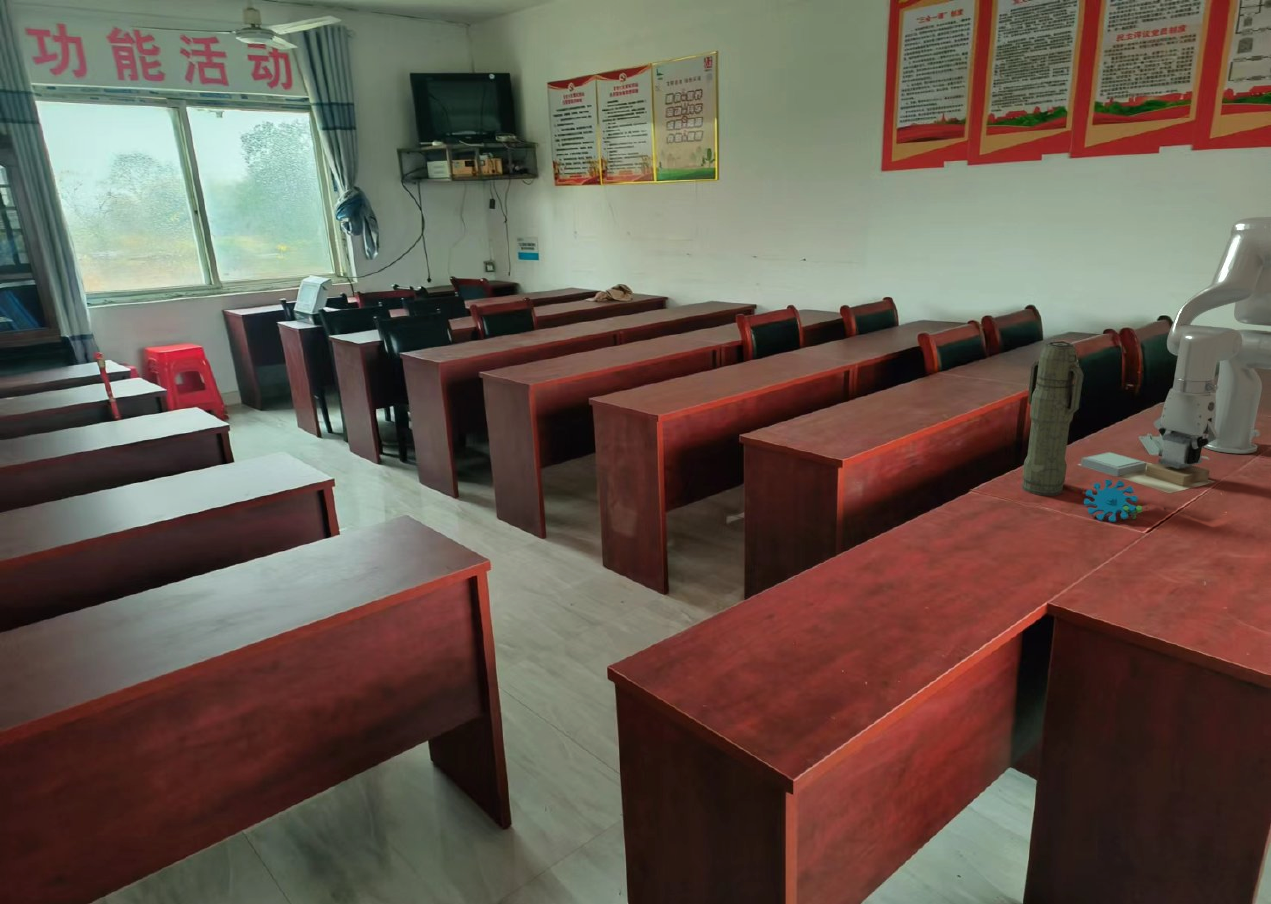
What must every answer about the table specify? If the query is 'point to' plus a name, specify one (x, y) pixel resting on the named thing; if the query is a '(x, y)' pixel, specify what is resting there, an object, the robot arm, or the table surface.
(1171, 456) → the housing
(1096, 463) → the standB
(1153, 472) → the stand
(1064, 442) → the thermos
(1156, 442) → the metal bracket
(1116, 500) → the gear
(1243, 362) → the robot arm
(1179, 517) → the table surface
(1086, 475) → the table surface
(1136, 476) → the board
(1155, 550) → the table surface
